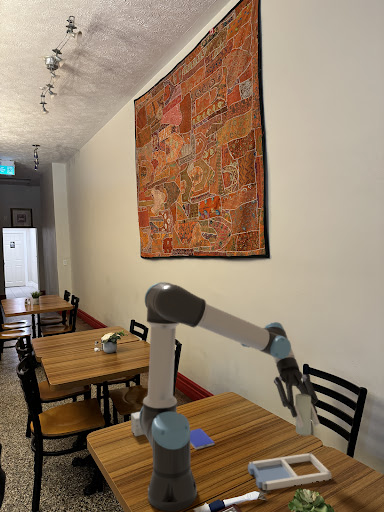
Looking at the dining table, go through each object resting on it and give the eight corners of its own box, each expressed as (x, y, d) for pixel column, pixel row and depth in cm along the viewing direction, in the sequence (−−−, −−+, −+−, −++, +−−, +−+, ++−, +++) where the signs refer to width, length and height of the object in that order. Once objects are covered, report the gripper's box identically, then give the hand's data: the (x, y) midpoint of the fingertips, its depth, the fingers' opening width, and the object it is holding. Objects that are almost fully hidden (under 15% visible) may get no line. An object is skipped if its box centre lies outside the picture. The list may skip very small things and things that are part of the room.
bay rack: (260, 491, 113) (260, 485, 113) (246, 468, 125) (246, 462, 125) (331, 479, 118) (331, 473, 118) (311, 458, 130) (311, 452, 130)
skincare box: (135, 437, 148) (134, 419, 148) (131, 430, 153) (130, 413, 153) (149, 433, 151) (149, 415, 150) (144, 427, 156) (144, 410, 156)
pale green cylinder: (306, 437, 119) (305, 400, 119) (292, 431, 123) (292, 396, 123) (314, 431, 122) (313, 396, 122) (300, 426, 126) (300, 392, 126)
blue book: (182, 432, 149) (195, 446, 138) (200, 428, 152) (214, 441, 141) (183, 436, 149) (195, 451, 138) (200, 431, 152) (214, 445, 141)
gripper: (304, 364, 139) (329, 426, 123) (260, 368, 136) (280, 433, 120) (311, 354, 134) (338, 418, 118) (265, 357, 130) (287, 424, 114)
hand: (309, 425), depth 119 cm, fingers closed on pale green cylinder, 5 cm apart
